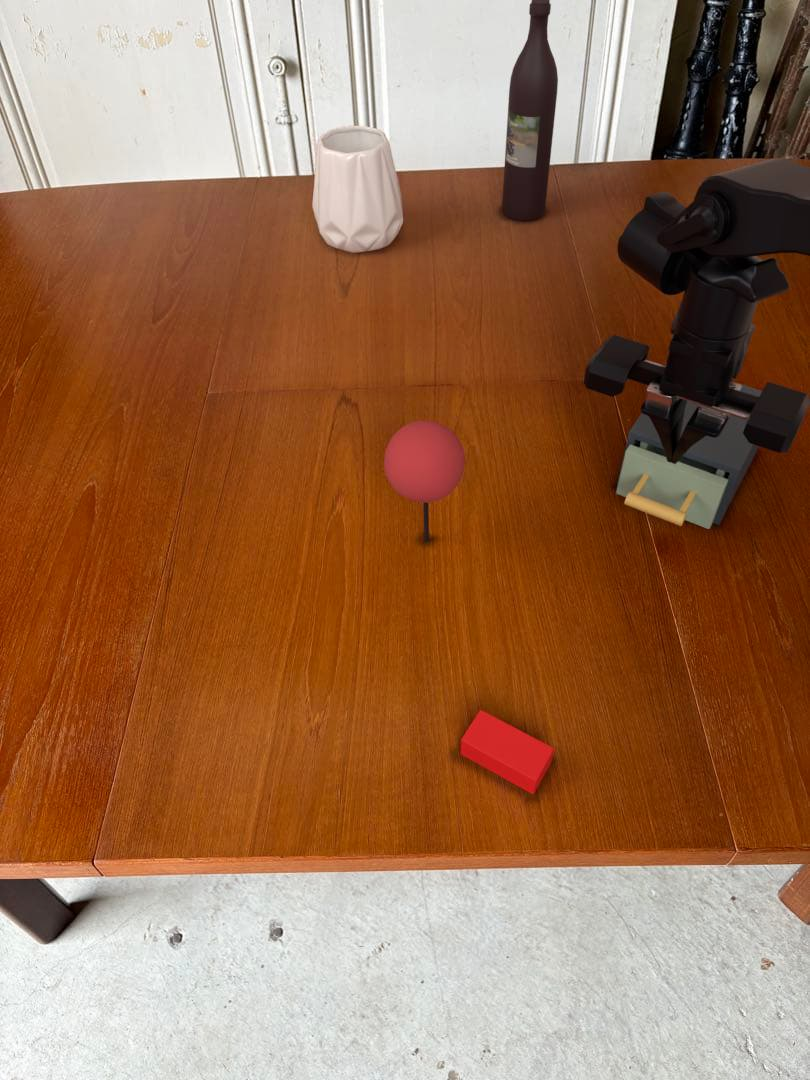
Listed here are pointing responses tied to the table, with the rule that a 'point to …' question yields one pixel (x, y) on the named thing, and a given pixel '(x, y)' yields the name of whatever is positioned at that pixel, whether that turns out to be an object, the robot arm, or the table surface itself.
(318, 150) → the vase
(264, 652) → the table surface
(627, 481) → the drawer
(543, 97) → the wine bottle
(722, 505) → the cabinet
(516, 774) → the red rectangular block
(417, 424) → the lollipop
